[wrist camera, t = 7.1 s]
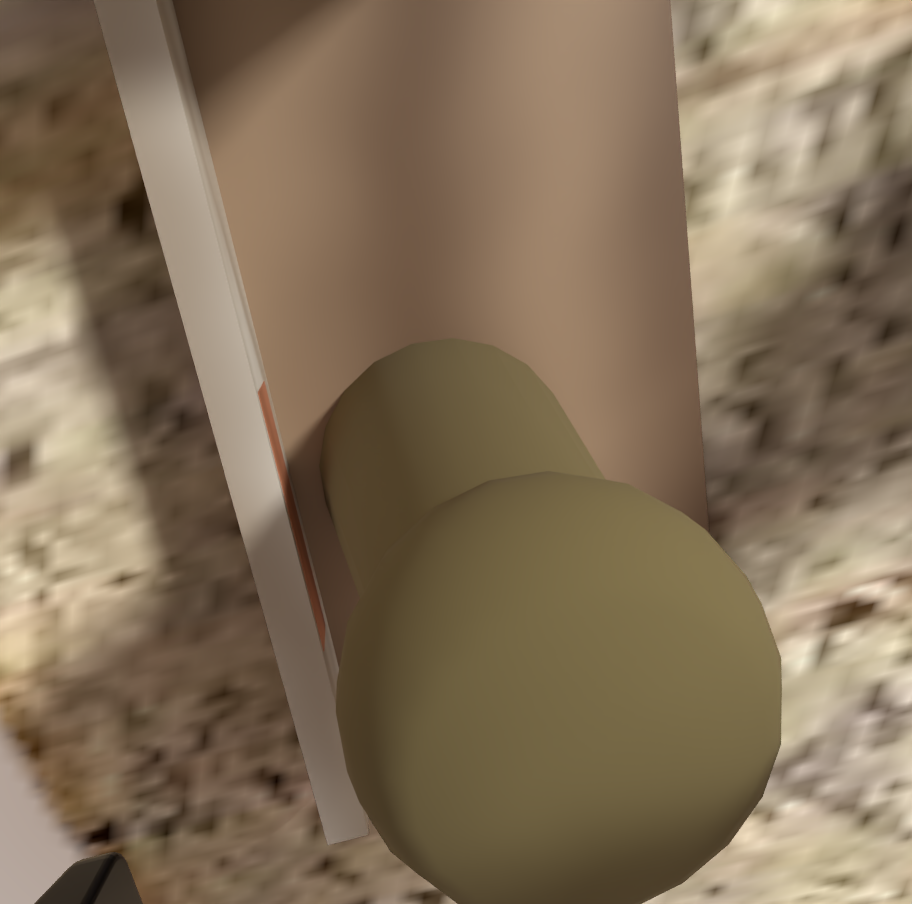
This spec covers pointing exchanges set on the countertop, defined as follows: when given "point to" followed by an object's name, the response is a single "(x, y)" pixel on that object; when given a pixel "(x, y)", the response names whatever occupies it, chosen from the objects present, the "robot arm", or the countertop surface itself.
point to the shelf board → (409, 251)
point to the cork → (534, 645)
